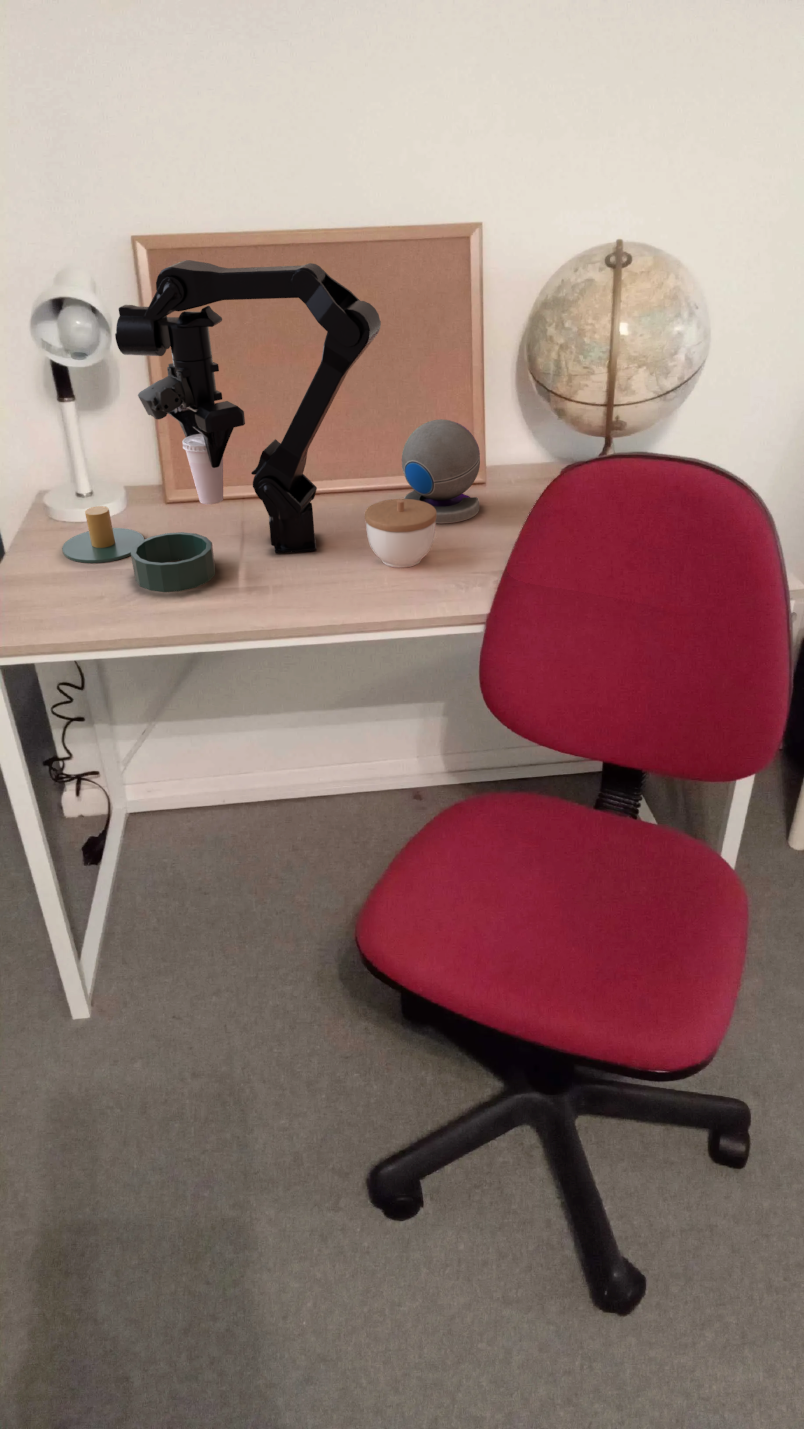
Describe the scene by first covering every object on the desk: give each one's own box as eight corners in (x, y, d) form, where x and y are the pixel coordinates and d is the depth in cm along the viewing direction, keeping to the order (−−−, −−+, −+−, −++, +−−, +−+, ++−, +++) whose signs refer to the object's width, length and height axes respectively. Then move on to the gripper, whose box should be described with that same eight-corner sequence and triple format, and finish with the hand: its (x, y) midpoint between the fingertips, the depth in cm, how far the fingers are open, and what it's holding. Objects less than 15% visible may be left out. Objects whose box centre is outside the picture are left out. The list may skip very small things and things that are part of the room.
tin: (216, 559, 153) (213, 529, 150) (214, 592, 143) (210, 561, 141) (140, 564, 152) (135, 534, 149) (132, 597, 142) (127, 567, 140)
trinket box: (447, 551, 154) (447, 493, 149) (419, 579, 146) (418, 519, 141) (385, 540, 158) (383, 484, 153) (354, 567, 150) (351, 508, 144)
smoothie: (224, 508, 153) (211, 417, 145) (184, 506, 154) (170, 416, 146) (237, 493, 158) (226, 405, 150) (199, 492, 159) (186, 404, 151)
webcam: (493, 507, 169) (496, 419, 161) (446, 530, 161) (446, 439, 153) (434, 490, 176) (434, 405, 168) (386, 511, 168) (384, 423, 160)
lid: (148, 531, 163) (142, 493, 159) (141, 563, 152) (134, 523, 148) (70, 536, 161) (61, 498, 158) (57, 569, 151) (48, 528, 147)
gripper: (115, 353, 147) (133, 456, 155) (166, 379, 134) (183, 490, 142) (185, 342, 152) (198, 442, 160) (240, 366, 139) (252, 473, 147)
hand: (206, 461), depth 152 cm, fingers closed on smoothie, 6 cm apart
